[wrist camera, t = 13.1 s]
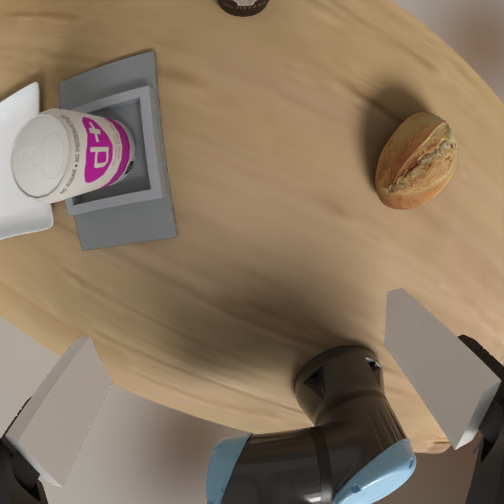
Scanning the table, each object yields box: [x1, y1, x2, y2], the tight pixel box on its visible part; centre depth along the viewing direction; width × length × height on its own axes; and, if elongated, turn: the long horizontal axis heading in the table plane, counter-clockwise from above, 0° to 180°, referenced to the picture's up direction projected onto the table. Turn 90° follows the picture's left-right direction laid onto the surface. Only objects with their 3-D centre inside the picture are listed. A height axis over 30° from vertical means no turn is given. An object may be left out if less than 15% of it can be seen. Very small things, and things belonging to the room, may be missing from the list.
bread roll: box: [375, 112, 458, 209], centre depth 31 cm, size 10×15×8 cm, turn 143°
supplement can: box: [10, 108, 137, 204], centre depth 25 cm, size 8×8×15 cm
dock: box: [60, 51, 178, 251], centre depth 31 cm, size 24×14×3 cm, turn 6°
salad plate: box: [0, 82, 54, 240], centre depth 31 cm, size 21×21×3 cm
